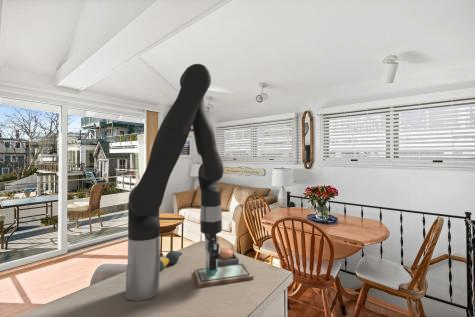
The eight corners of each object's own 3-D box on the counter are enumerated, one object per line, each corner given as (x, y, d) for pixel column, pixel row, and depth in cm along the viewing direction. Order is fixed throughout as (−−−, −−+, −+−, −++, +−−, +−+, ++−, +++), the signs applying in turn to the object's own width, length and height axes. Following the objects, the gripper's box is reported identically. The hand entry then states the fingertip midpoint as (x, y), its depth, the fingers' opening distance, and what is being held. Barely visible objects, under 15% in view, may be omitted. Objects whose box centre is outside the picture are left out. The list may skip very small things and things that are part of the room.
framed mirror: (198, 287, 75) (198, 283, 75) (193, 272, 85) (194, 268, 85) (253, 279, 80) (253, 275, 80) (243, 266, 91) (243, 262, 91)
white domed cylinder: (207, 274, 79) (206, 252, 79) (205, 269, 83) (204, 248, 83) (218, 272, 80) (218, 250, 80) (216, 267, 84) (215, 246, 84)
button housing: (218, 268, 89) (218, 261, 89) (214, 259, 97) (214, 253, 97) (238, 265, 91) (238, 258, 91) (232, 257, 99) (232, 251, 99)
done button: (221, 260, 91) (221, 254, 91) (218, 255, 96) (218, 249, 96) (234, 259, 92) (234, 252, 92) (230, 254, 97) (230, 248, 97)
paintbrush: (148, 282, 78) (148, 267, 78) (137, 279, 80) (137, 264, 80) (184, 260, 96) (184, 248, 96) (175, 258, 98) (175, 246, 98)
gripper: (197, 214, 88) (197, 260, 87) (203, 224, 74) (204, 278, 74) (217, 213, 90) (217, 257, 90) (226, 222, 76) (227, 274, 76)
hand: (211, 266), depth 82 cm, fingers closed on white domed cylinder, 4 cm apart
